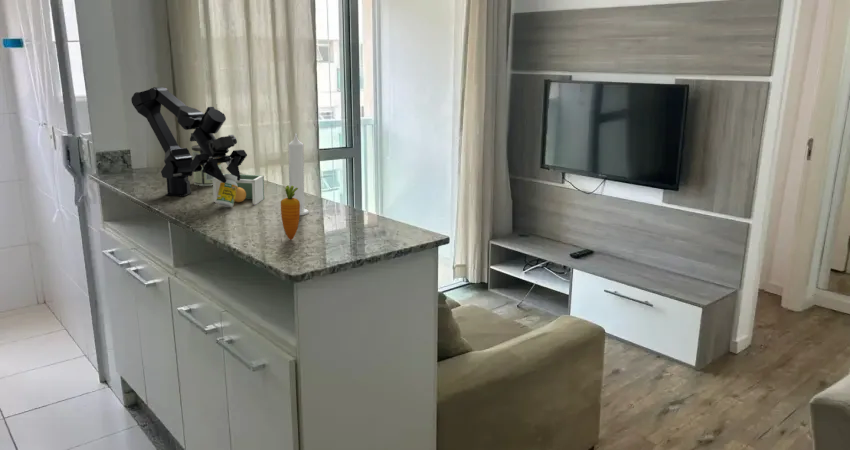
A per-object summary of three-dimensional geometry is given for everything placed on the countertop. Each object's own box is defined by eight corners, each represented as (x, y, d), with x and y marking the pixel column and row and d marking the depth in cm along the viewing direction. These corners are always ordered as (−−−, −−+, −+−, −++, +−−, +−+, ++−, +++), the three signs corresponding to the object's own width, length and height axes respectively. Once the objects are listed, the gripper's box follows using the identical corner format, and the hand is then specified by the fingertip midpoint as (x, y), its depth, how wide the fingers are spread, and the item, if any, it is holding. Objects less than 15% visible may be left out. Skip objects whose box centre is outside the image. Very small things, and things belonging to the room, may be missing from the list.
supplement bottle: (229, 207, 201) (236, 179, 203) (235, 206, 197) (242, 177, 199) (213, 203, 198) (220, 174, 200) (218, 201, 194) (225, 172, 196)
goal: (213, 202, 205) (212, 178, 203) (224, 196, 214) (223, 173, 212) (255, 204, 205) (254, 180, 203) (264, 198, 214) (263, 175, 212)
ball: (229, 184, 205) (236, 187, 210) (226, 199, 204) (233, 201, 209) (243, 187, 204) (250, 190, 209) (240, 202, 204) (246, 204, 208)
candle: (312, 211, 198) (312, 132, 192) (301, 216, 191) (300, 134, 185) (293, 209, 200) (291, 131, 194) (281, 214, 193) (279, 133, 187)
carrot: (282, 237, 169) (281, 182, 165) (301, 237, 169) (300, 183, 165) (280, 242, 164) (278, 186, 160) (299, 242, 164) (298, 186, 160)
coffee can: (210, 180, 242) (208, 143, 239) (228, 183, 237) (226, 146, 233) (187, 183, 234) (185, 146, 230) (205, 187, 228) (203, 149, 225)
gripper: (193, 128, 189) (219, 168, 186) (242, 124, 205) (266, 161, 201) (179, 151, 196) (203, 190, 192) (227, 146, 211) (251, 182, 208)
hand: (232, 180), depth 198 cm, fingers closed on supplement bottle, 5 cm apart
